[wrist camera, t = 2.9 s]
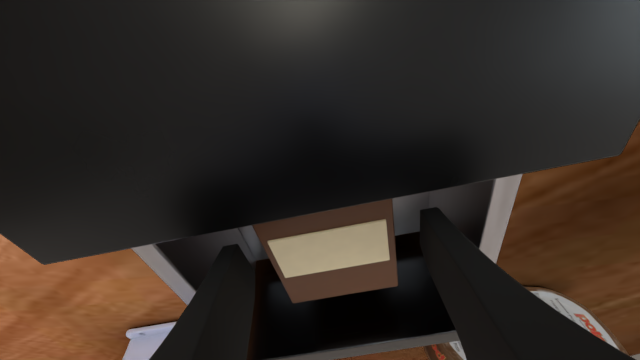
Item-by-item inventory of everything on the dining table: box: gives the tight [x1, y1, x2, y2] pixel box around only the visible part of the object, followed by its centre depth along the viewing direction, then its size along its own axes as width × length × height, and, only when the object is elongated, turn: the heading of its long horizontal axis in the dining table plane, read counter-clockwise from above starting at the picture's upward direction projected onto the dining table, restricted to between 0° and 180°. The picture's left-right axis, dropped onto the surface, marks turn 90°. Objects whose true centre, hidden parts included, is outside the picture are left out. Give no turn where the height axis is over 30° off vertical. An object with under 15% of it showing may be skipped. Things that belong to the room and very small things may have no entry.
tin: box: [423, 287, 629, 360], centre depth 23 cm, size 15×3×8 cm, turn 83°
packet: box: [252, 199, 398, 303], centre depth 13 cm, size 5×7×4 cm
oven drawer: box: [131, 174, 522, 360], centre depth 15 cm, size 18×13×6 cm
